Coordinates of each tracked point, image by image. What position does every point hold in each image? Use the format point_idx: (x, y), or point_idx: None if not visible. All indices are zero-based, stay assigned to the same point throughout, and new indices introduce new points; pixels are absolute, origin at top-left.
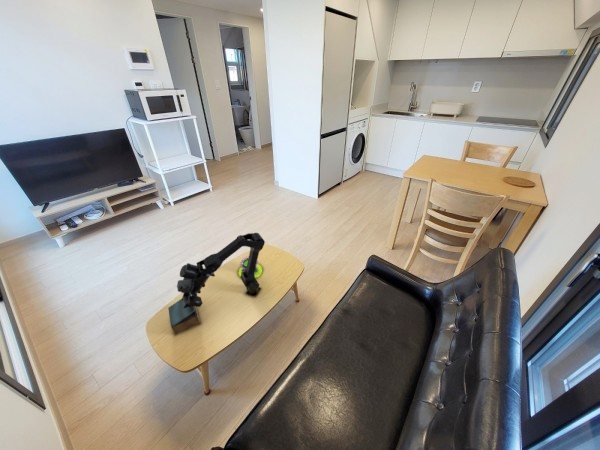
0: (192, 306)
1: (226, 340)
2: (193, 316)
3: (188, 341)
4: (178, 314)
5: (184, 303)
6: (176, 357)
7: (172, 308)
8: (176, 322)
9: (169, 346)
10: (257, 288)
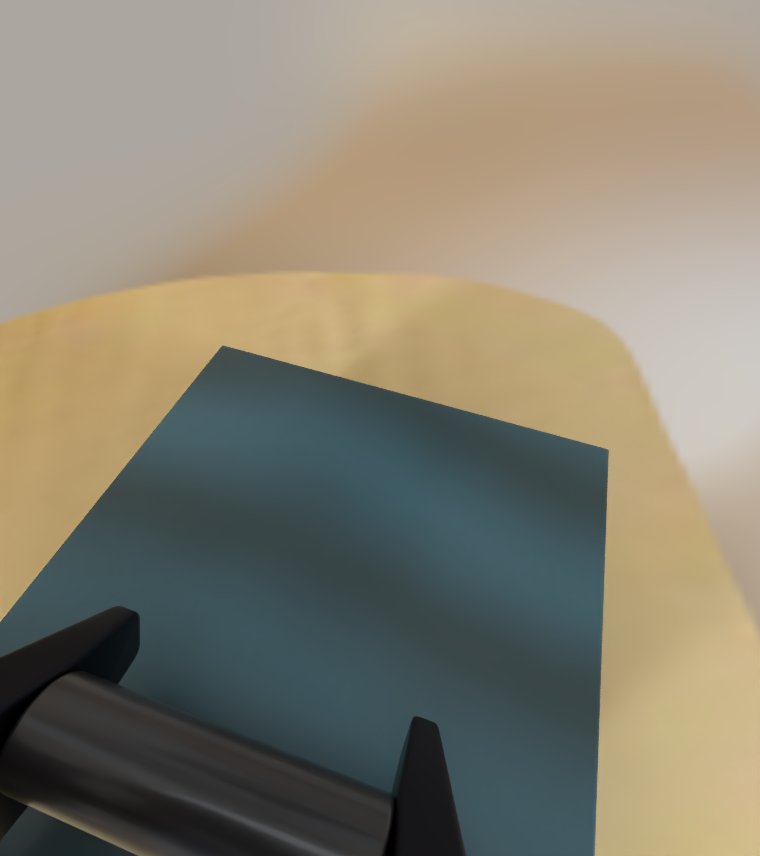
0: (22, 827)
1: None
2: None
3: (92, 483)
4: (272, 491)
5: (78, 700)
6: (59, 341)
7: (519, 484)
8: (178, 409)
9: (208, 338)
10: None
